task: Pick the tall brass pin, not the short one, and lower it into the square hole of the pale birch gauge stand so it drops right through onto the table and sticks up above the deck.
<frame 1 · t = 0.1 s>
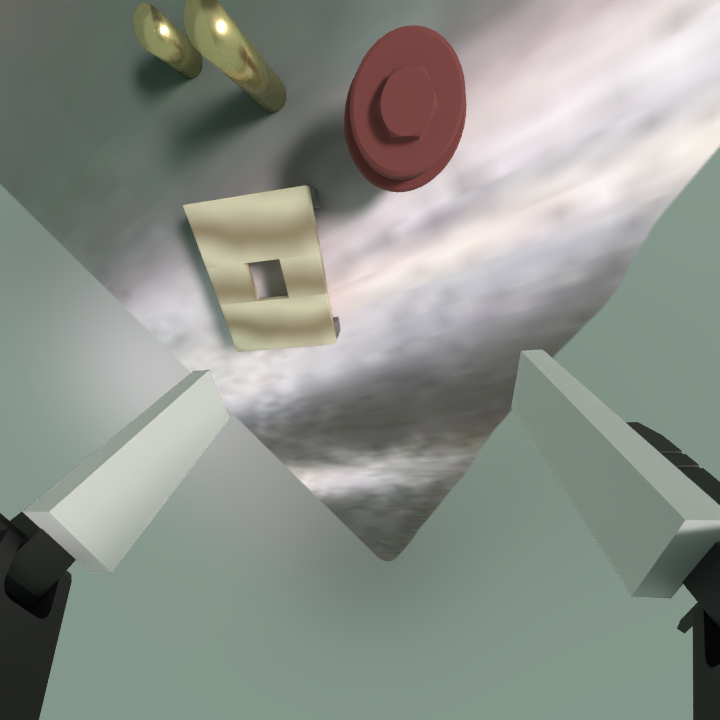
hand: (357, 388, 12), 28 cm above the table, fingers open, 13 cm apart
long pin: (272, 93, 29), on the table
mechanical component: (399, 143, 30), on the table
short pin: (187, 57, 28), on the table
gauge stand: (280, 273, 38), on the table
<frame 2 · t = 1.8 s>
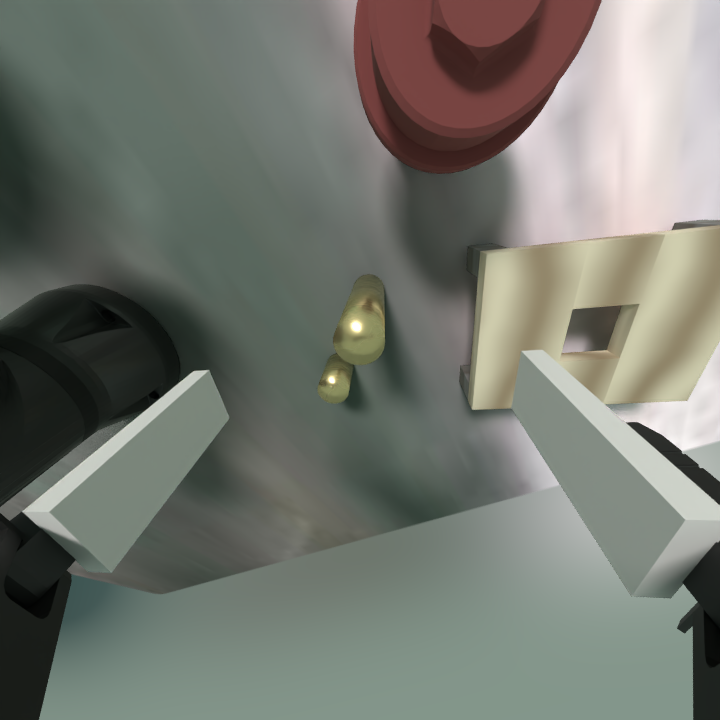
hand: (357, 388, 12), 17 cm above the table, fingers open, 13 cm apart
long pin: (368, 290, 26), on the table
mechanical component: (433, 102, 20), on the table
short pin: (340, 365, 31), on the table
gauge stand: (561, 314, 26), on the table
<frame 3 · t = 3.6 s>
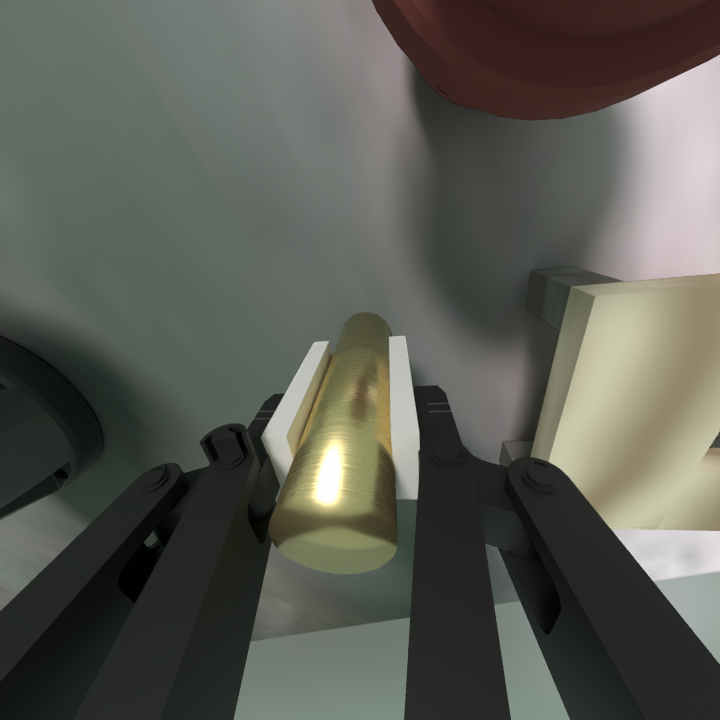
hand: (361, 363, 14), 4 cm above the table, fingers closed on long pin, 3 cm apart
long pin: (366, 335, 17), on the table, touching gripper
mechanical component: (489, 3, 10), on the table
gauge stand: (672, 375, 16), on the table
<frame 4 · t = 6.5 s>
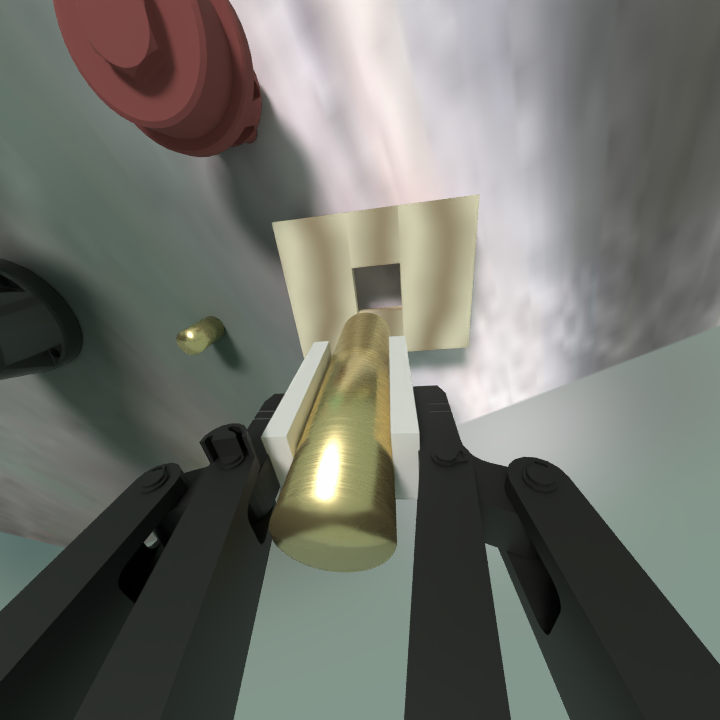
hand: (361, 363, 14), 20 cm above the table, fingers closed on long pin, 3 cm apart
long pin: (366, 335, 17), point 16 cm above the table, touching gripper
mechanical component: (231, 103, 25), on the table
short pin: (213, 327, 36), on the table
gauge stand: (378, 279, 31), on the table
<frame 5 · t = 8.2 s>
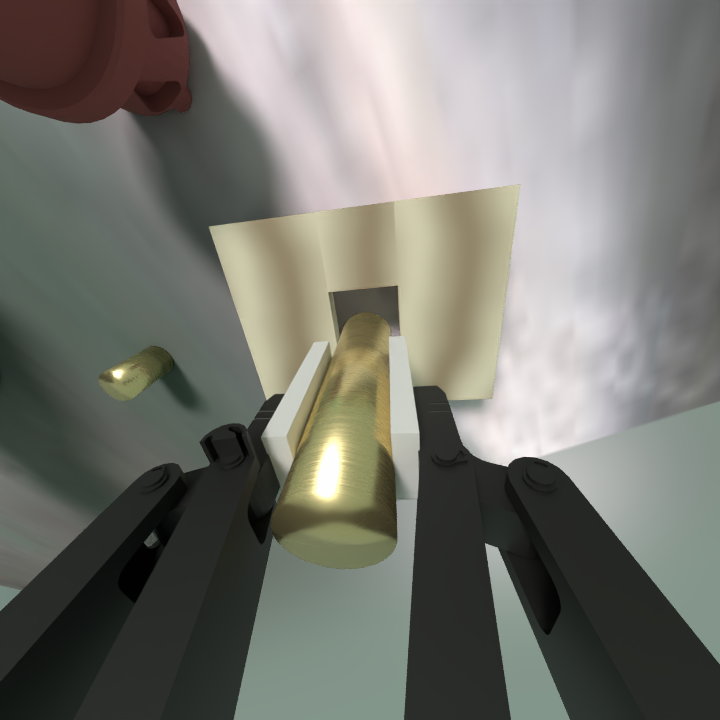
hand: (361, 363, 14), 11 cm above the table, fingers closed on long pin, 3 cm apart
long pin: (366, 335, 17), point 7 cm above the table, touching gripper
mechanical component: (152, 52, 17), on the table
short pin: (159, 359, 28), on the table
gauge stand: (369, 301, 23), on the table
when the fingers open (7 cm above the table, at t = 9.6 s): long pin drops 3 cm, on the table.
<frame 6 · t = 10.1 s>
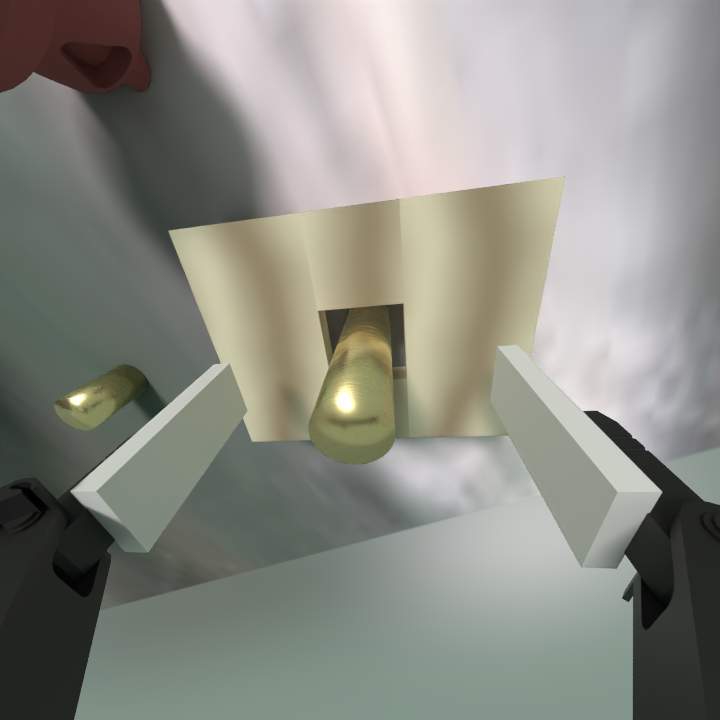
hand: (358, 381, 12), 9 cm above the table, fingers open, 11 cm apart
long pin: (369, 317, 20), on the table
mechanical component: (100, 15, 14), on the table
short pin: (131, 379, 25), on the table
gauge stand: (369, 317, 20), on the table
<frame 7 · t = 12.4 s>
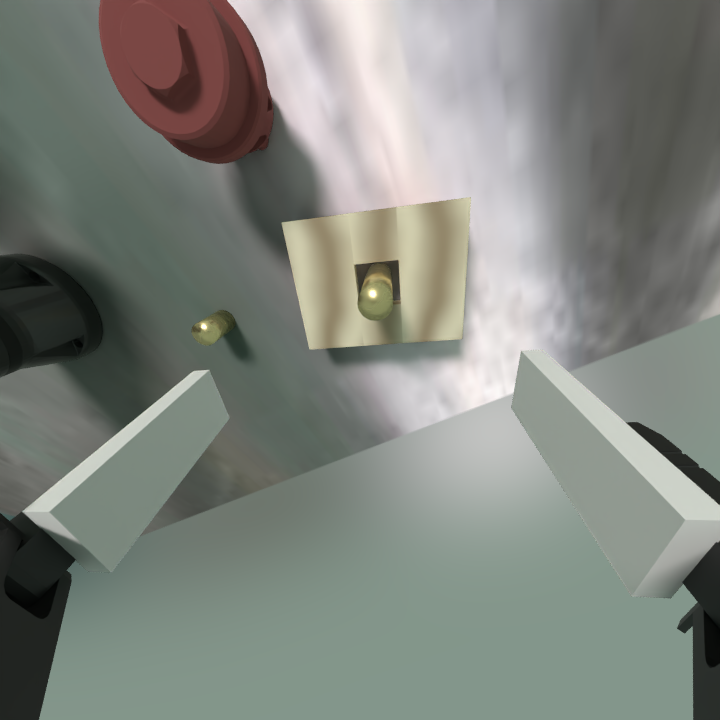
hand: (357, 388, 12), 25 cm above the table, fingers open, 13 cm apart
long pin: (379, 275, 34), on the table
mechanical component: (246, 114, 28), on the table
short pin: (224, 320, 38), on the table
gauge stand: (379, 275, 34), on the table
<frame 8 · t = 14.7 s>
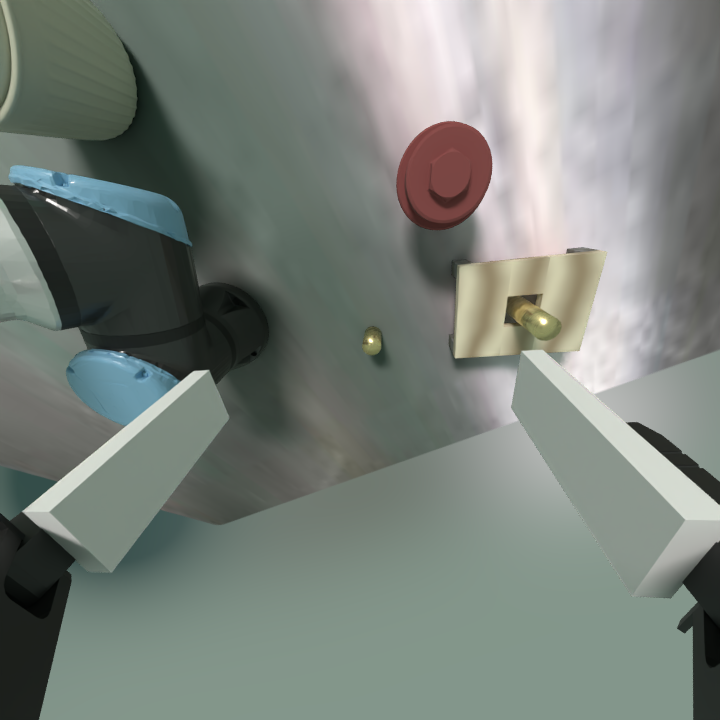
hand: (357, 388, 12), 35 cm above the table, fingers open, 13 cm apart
long pin: (508, 301, 43), on the table
mechanical component: (431, 186, 37), on the table
short pin: (373, 334, 48), on the table
gauge stand: (508, 301, 43), on the table
canister: (95, 77, 35), on the table
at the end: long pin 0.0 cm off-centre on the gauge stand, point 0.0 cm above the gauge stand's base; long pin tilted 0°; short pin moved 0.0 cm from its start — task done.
